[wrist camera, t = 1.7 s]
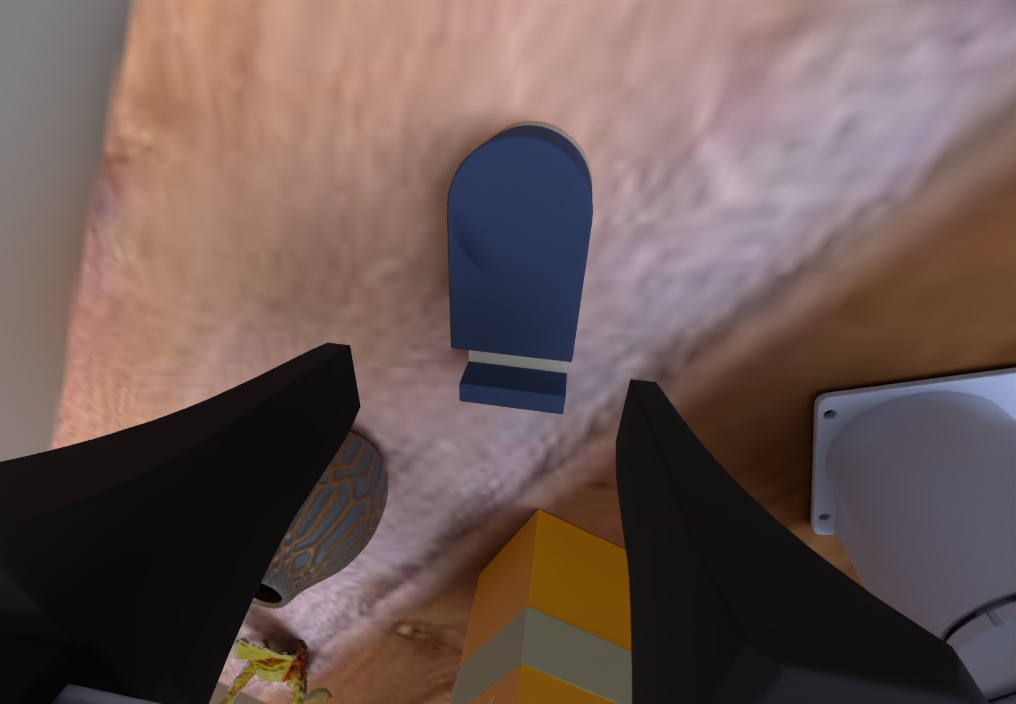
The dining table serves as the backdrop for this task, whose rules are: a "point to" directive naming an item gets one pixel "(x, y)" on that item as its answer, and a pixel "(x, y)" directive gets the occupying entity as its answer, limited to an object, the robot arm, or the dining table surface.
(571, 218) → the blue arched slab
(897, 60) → the dining table surface
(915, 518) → the robot arm
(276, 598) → the vase
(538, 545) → the orange juice
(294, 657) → the origami crane
